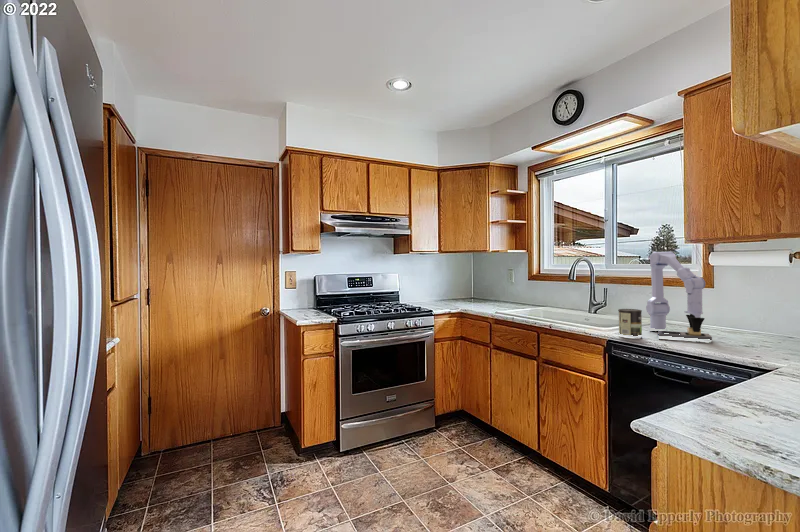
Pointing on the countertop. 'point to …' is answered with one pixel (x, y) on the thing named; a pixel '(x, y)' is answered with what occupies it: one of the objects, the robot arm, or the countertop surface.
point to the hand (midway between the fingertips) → (694, 330)
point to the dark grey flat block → (684, 335)
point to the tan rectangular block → (691, 332)
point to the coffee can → (630, 322)
